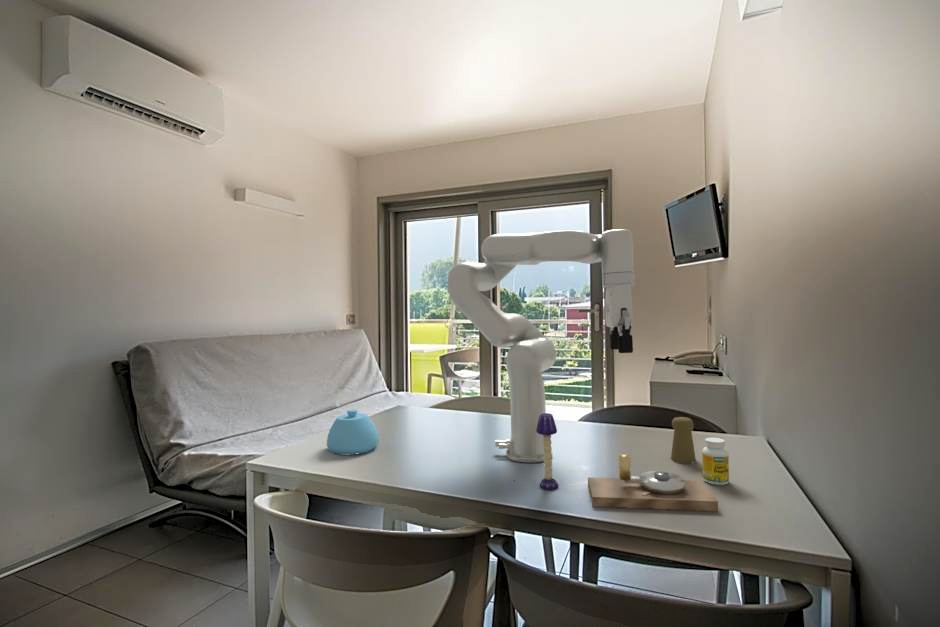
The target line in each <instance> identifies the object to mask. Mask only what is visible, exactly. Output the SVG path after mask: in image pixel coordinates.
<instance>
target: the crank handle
mask: <svg viewBox="0 0 940 627" xmlns="http://www.w3.org/2000/svg"><path fill="white" fill-rule="evenodd" d="M631 457H632V455H630V454H628V453H620V454H618V469H619V470H618V473H619V477H618V478H619V479H621V480H624V482H625V483H633V484H640V486H641V487H642V488H644V489H645V490H648V491H651V492H654V493H660V494H678V493H681V492H683V491H684V490H685V480H686V479H685V478H684V477H683V476H681V475H678V474H676V473H673V472H669V471H663V470H651V471H650V470H649V471H645V472H644V471H643V472H642V473H640V474H639V475H636V476H635V475H632V461H631V460H632V458H631Z"/></svg>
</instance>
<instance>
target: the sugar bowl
mask: <svg viewBox="0 0 940 627" xmlns="http://www.w3.org/2000/svg"><path fill="white" fill-rule="evenodd" d="M346 412H347V413H345V414H341V415H339V416H337V417H336V419H335V420H334V421H333V423H332V425H331V427H330V429H329V431H328V434H327V440H326V447H327V448H328V450H329V451H330V452H331V453H333V454H334V453H337V454H356V453H362V454H364V453H363V452H366V453H368V452H367V451H369V452H371V451H373V450H374V449H375V448H376V446H377V445H378V443H379V440H380V438H379V432H378V430H377V427H376V425H375V424H374V422H373V421H372V419H371V418H370V416H369V415H367V413H361V412H360V413H359V412H358V410H357V409H348V410H347V411H346ZM372 449H373V450H372ZM370 450H371V451H370ZM337 454H336V455H337Z"/></svg>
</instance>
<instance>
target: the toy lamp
mask: <svg viewBox="0 0 940 627" xmlns="http://www.w3.org/2000/svg"><path fill="white" fill-rule="evenodd" d="M536 432H537V433H538V434H541V435H543V438H544V441H543V443H544V452H545V453H544V458H545V460H544V461H543V463H544V468H543V469H544V478H543V479H541V480H540V482H539V488H540V489H541V488H542V490H543V491H555V490H558V489H559V484H558V481H557V480H556V479H555V478H553V472H552V471H553V466H552V465H553V461H552V458H553V453H552V454H551V451H552V450H553V449H552V435H555V434H557V432H558V428H557V425H556V421H555V419H554V415H553V414H552V413H550V412H549V413H548V412H546V413H543V414H540V416H539V420H538V424H537V429H536Z"/></svg>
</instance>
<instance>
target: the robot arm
mask: <svg viewBox="0 0 940 627" xmlns="http://www.w3.org/2000/svg"><path fill="white" fill-rule="evenodd" d="M633 240H634V238H633V233H632V232H631V230H629V229H626V228H625V229H623V228H621V229H620V228H616V229H610V230H605V231H603V232H602V233H601V234H594V233H591V232H587V231H584V230H576V229H575V230H552V231H551V230H549V231H541V232H523V233H519V232H518V233H496V234H492V235H489V236H488V237H487V236H486V238H485V239H484V240H483V241H482V243H481V246H480V252H481V256H482V258H484V259H485V260H484V261H483V262H475V261H462V262H459V263H457V264H455V265H454V266H452V267H451V269H450V270H449V272H448V276H447V283H446V284H447V286H446V287H447V291H448V295H449V297H450V300H451V301H452V303H453V304H454V305H455V307H456V308H457V309H458V310H459V311H460V312H461V313H462V315H464V316H465V317H466V318H467V319H468V320H469V321H470V323H471V324H472V325H473V326H474V327H475V328H476V330H478V331H479V332H480V333H481V334H482V335H483V336H484V338H485V339H486V341H488V342H489V343H490V344H491V345H492V346H494V347H496V348H508V347H510V348H509V350H507V354H506V359H505V362H506V369H507V375H508V382H509V399H510V400H509V401H510V437H509V438H506V440H503V439H495V441H494V442H495V444H494V445H495V447H496V448H498V449H499V450H501V449H502V450H503V449H504V450H505V449H506V451H505V456H506V458H507V459H509V460H511V461H515V462H518V463H526V464H527V463H528V464H530V463H531V464H532V463H533V464H534V463H544V460H545V458H544V453H545V452H544V443H543V441H544V438H543V435H541V434H538V433H537V432H536V429H537V424H538V420H539V416H540V414H543V413H547V412H546V389H545V382H544V378H543V374H542V372H544V371H547V370H549V369H551V368H552V367H553V365H555V363H556V360H557V353H556V348H555V347H554V344H553V343H552V342H551V340H549V339H548V338H547V337H546V336H545V335H544V334H543V332H541V331H540V330H539V329H538V327H536V326H535V325H534V324H533V323H532V322H531V321H530V320H529V319H528V318H526V316H524V315H522V314H520V313H514V312H513V313H511V312H510V313H507V312H504V311H503V310H502V309H501V308H499V307H498V305H496V303H494V301H493V300H492V299H490V298H489V297H487V295H485V294H483V293H482V292H488V291H490V290H492V289H494V288H495V287H497V286H498V284H500V282H502V280H504V279H505V278H506V277H507V276H508V275H509V274H510V273H511V271H513V270H514V268H515V267H516V266H518V265H519V266H520V265H521V266H525V265H527V266H528V265H529V266H530V265H531V266H535V265H539V264H540V263H543V262H544V263H545V262H573V263H581V264H587V265H589V264H596V263H597V264H598V263H600V262H601V281H602V282H601V284H602V288H604V289H605V296H604V297H605V298H604V300H605V305H604V307H605V310H604V311H605V314H604V316H605V326H606V327H607V328H610V329H609V333H610V334H609V341H610V342H609V343H610V346H609V348H610V349H611V350H618V353H619V354H632V353H633V351H634V345H633V344H634V343H633V342H634V341H633V330H632V326H633V323H634V322H633V321H634V314H633V312H634V311H633V299H632V288H631V287H635V284H636V283H635V262H634V241H633ZM551 454H552V455H553V451H552V450H551Z"/></svg>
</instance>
